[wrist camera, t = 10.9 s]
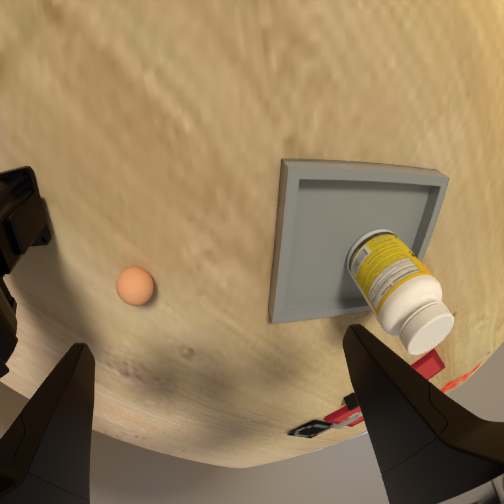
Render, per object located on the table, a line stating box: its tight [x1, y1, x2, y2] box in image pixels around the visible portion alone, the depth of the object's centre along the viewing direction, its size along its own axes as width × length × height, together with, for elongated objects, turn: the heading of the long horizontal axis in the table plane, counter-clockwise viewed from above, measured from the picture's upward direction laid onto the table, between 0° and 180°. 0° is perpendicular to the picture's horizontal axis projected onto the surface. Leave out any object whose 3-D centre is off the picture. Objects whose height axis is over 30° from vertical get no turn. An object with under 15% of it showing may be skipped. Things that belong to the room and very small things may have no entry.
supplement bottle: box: [347, 229, 454, 355], centre depth 21 cm, size 5×5×10 cm
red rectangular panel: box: [287, 349, 445, 438], centre depth 45 cm, size 30×3×15 cm
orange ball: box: [116, 267, 154, 306], centre depth 22 cm, size 3×3×3 cm
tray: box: [268, 159, 449, 324], centre depth 24 cm, size 14×14×2 cm
